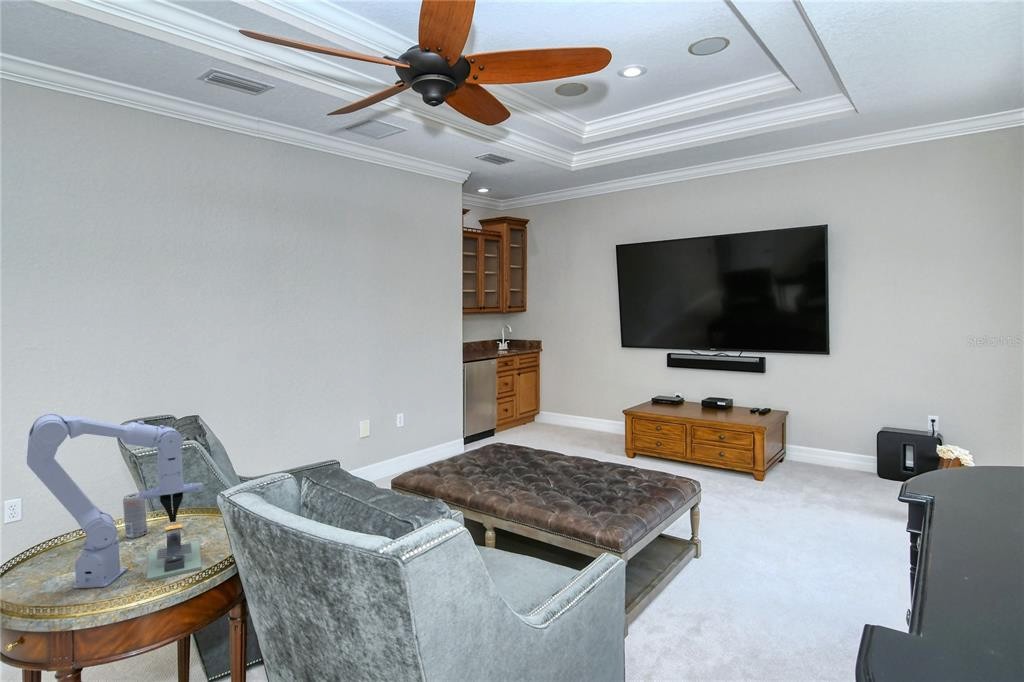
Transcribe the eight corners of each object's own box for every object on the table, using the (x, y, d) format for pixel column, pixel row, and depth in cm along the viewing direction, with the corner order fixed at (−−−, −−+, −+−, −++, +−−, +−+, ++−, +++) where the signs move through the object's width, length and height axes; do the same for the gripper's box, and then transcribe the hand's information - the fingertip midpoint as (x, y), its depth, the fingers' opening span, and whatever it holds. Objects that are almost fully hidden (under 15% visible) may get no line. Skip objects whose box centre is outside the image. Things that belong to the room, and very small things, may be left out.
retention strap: (183, 559, 145) (182, 556, 144) (165, 563, 142) (164, 560, 142) (182, 526, 155) (181, 523, 154) (165, 530, 153) (165, 526, 152)
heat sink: (192, 560, 148) (191, 553, 148) (156, 568, 144) (156, 561, 144) (191, 549, 155) (191, 542, 155) (157, 556, 151) (157, 549, 151)
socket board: (201, 569, 145) (200, 551, 145) (146, 581, 139) (145, 563, 138) (199, 543, 160) (198, 527, 160) (150, 553, 154) (149, 536, 154)
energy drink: (144, 529, 170) (141, 491, 169) (149, 534, 167) (146, 495, 166) (123, 535, 166) (120, 496, 165) (128, 540, 163) (125, 500, 162)
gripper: (200, 464, 157) (202, 510, 158) (139, 472, 150) (141, 521, 151) (201, 470, 151) (203, 519, 152) (137, 480, 143) (140, 530, 145)
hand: (173, 520), depth 151 cm, fingers closed
